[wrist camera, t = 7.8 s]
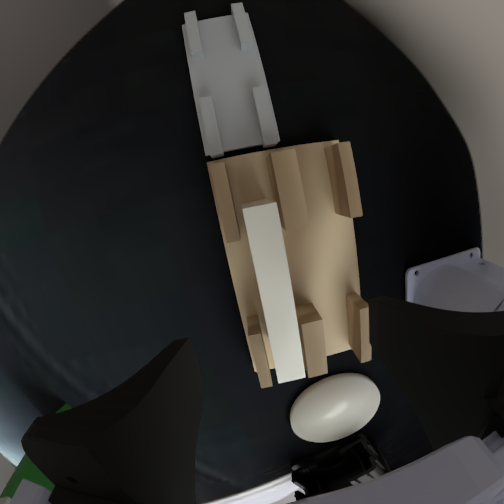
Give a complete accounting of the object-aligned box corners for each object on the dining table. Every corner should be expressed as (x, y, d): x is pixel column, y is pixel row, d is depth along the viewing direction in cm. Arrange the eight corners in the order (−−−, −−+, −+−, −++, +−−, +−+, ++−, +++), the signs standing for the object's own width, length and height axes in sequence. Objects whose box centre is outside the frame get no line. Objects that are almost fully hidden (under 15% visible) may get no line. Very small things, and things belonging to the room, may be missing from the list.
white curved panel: (265, 198, 18) (276, 202, 13) (290, 333, 21) (305, 377, 15) (241, 203, 18) (242, 209, 13) (269, 338, 21) (278, 383, 15)
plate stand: (246, 14, 16) (247, 1, 14) (279, 146, 18) (283, 142, 17) (182, 25, 16) (178, 14, 14) (207, 160, 18) (204, 157, 17)
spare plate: (377, 359, 23) (382, 366, 22) (373, 420, 25) (376, 426, 24) (283, 385, 23) (285, 393, 22) (294, 442, 25) (295, 450, 24)
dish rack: (334, 141, 18) (354, 132, 15) (358, 340, 22) (375, 363, 18) (208, 163, 18) (201, 157, 15) (254, 366, 22) (257, 394, 18)
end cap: (311, 482, 27) (321, 521, 20) (285, 464, 26) (293, 509, 19) (380, 448, 26) (398, 486, 20) (363, 426, 25) (384, 469, 18)
